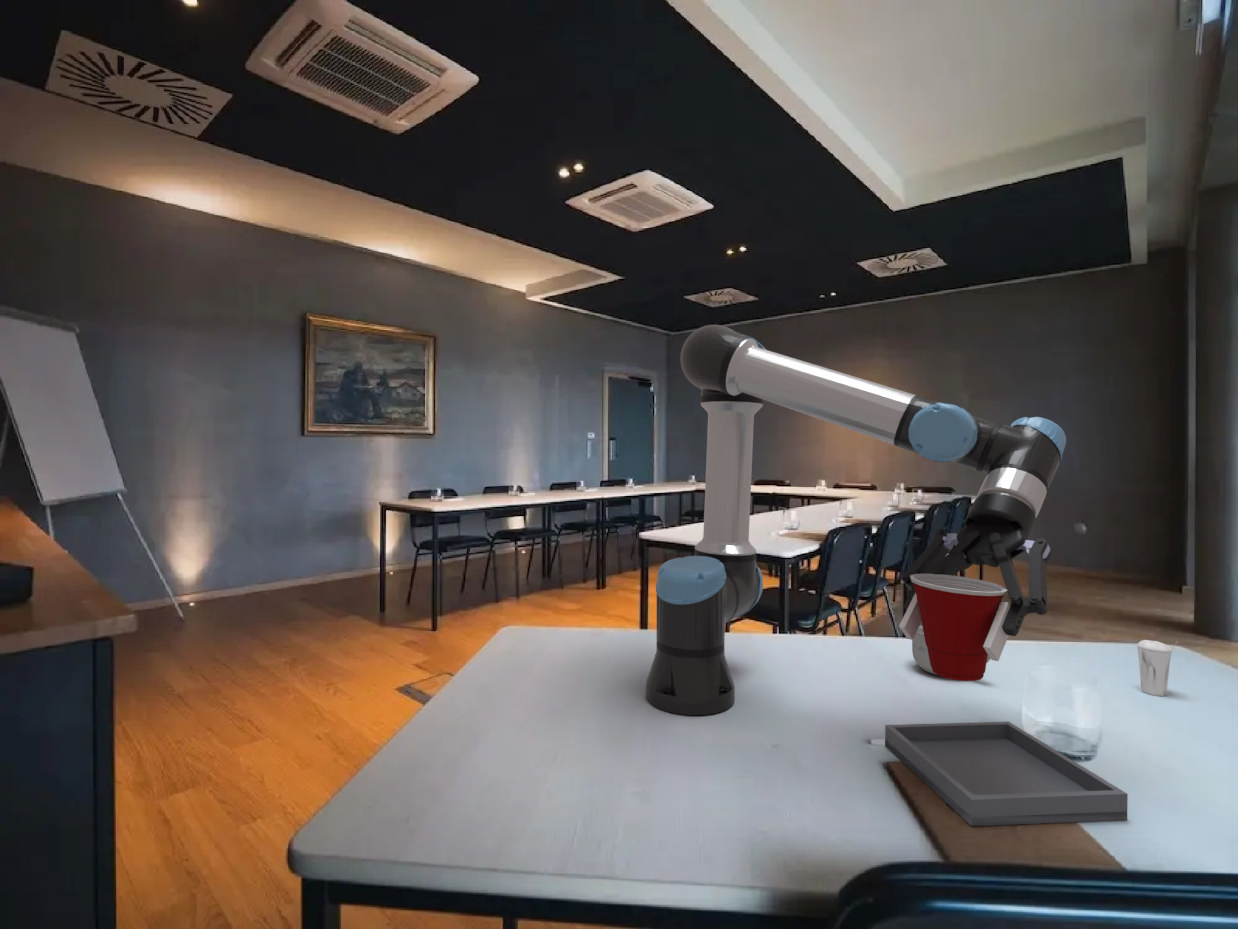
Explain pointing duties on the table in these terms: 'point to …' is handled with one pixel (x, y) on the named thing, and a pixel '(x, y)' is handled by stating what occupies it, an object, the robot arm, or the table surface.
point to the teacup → (923, 651)
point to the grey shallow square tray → (1003, 775)
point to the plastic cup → (957, 622)
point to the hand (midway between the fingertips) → (945, 643)
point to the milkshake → (1154, 666)
